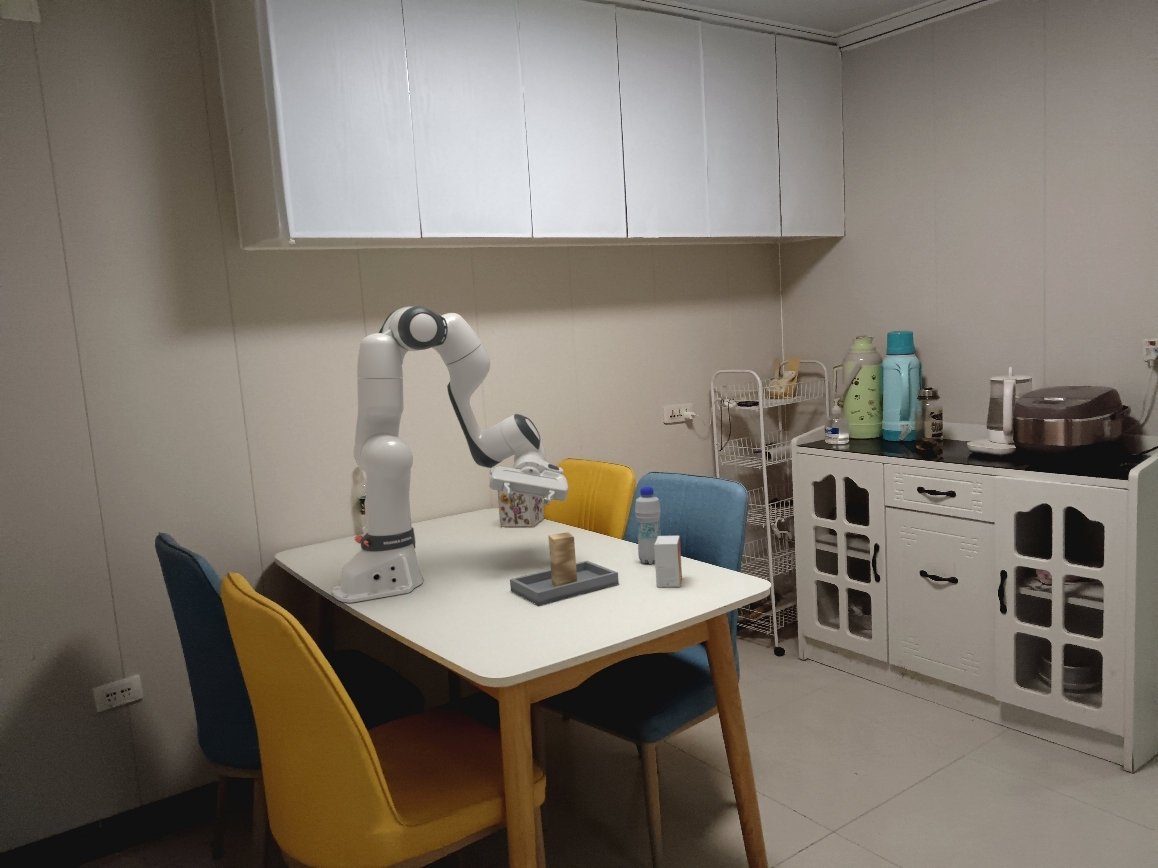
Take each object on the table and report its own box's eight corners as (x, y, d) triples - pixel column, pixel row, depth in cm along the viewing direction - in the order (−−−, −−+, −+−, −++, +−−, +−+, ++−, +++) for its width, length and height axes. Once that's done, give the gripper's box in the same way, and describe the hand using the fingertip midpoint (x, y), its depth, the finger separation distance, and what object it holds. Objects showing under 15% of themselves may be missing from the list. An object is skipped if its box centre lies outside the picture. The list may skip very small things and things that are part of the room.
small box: (680, 587, 190) (677, 543, 188) (656, 587, 191) (653, 544, 190) (682, 577, 198) (680, 535, 196) (659, 577, 199) (657, 535, 197)
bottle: (669, 560, 212) (664, 485, 209) (650, 566, 208) (646, 490, 205) (651, 556, 217) (646, 483, 214) (632, 562, 213) (628, 487, 210)
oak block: (557, 589, 192) (553, 539, 190) (552, 583, 197) (548, 534, 195) (577, 585, 193) (574, 536, 192) (571, 580, 198) (568, 532, 196)
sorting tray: (538, 605, 184) (537, 593, 183) (510, 591, 196) (509, 579, 195) (618, 584, 195) (617, 572, 195) (587, 572, 207) (587, 560, 207)
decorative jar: (512, 519, 273) (507, 466, 271) (545, 519, 270) (541, 465, 267) (499, 528, 261) (494, 473, 259) (533, 528, 258) (529, 472, 256)
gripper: (492, 456, 213) (489, 481, 201) (568, 469, 216) (570, 494, 203) (488, 477, 216) (485, 502, 203) (564, 489, 218) (565, 516, 206)
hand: (528, 499), depth 203 cm, fingers open, 8 cm apart
